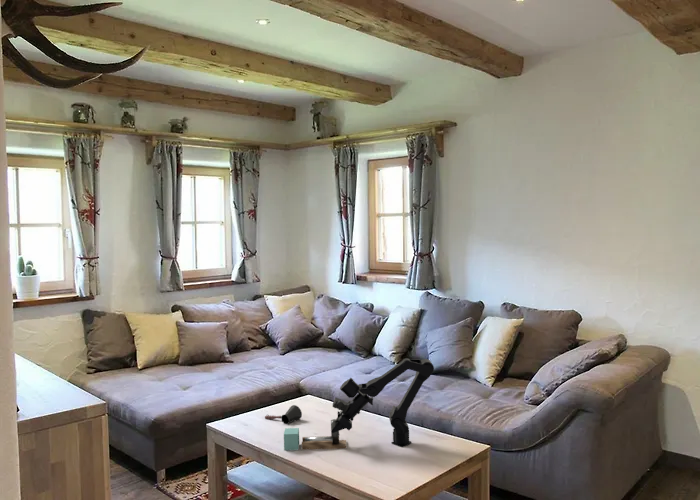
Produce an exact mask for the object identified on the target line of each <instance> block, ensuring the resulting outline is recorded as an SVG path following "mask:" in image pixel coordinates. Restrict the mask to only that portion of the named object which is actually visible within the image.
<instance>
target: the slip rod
mask: <svg viewBox="0 0 700 500" xmlns="http://www.w3.org/2000/svg"><path fill="white" fill-rule="evenodd" d="M337 422H338V420H337V418H334V419H333V418H332V419H331V420H330V431H331V430H332V429H333V427H334V426H335V425H336V423H337ZM304 437H305V441H332V444H339V440H340V431H337V432H335V433H332V432H330V436H329V437H322V436H304Z"/></svg>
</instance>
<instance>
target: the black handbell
mask: <svg viewBox="0 0 700 500" xmlns="http://www.w3.org/2000/svg"><path fill="white" fill-rule="evenodd" d="M302 415H303V413H302V409H301V408H300V407H299V406H298V405H295V404H293V405H291V406H289V408H288V410H287V411H286V412H285V413H284V414H282V415H269V413H268V414H266V415H265V416H264V419H265V420H274V419H281V422H282V423H283V424H285V425H289V424H290V423H292V422H295V421H297V420H298V421H299V420H300V419H301V418H302Z"/></svg>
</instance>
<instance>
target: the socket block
mask: <svg viewBox="0 0 700 500" xmlns="http://www.w3.org/2000/svg"><path fill="white" fill-rule="evenodd" d="M299 445H300V427H288V428H284V431H283V451H299Z"/></svg>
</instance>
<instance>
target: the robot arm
mask: <svg viewBox="0 0 700 500" xmlns="http://www.w3.org/2000/svg"><path fill="white" fill-rule="evenodd" d="M408 370H410V371H414V372H415V376H414V378H413V379H412V381H411V383H410V385H409V386H408V388H407V390H406V391H405V394H404V396H403V397H402V399H401V401H400V403H399V404H397V406H396V405H392V408H391V410H390V411H389V413H388V414H389V416H388V417H389V422H390V425H391V427H393V429H392V430H393V431H392V441H391V444H392V445H395V446H398V447H401V448H404V447H406V446H408V445H410V444H412V441H410V430H409V429H410V428H409V424H408V422H407V420H406V418H407V413H408V411H409V408H410V407H411V405H412V403H413V402H414V399H415V398H416V396H417V395H418V393H419V391H420V389H421V387H422V386H423V383H424V382H425V381H427V380H428V379H429V378H430V377H431V376H432V375H433V373H434V370H435V366H434V365H433V363H432V361H431V360H430V359H428V358H422V359H418V358H416V359H415V358H407V357H406V358H403V359H402V360H401V361H400V362H399V363H397V364H396V365H394V366H393V367H392V368H390V369H389V370H388V371H386V372H385V373H384V374H382V375H380V376H377V377H375V378H374V377H373V378H372V379H370V380H369V381H367V382H365V383H359V384H358V383H357V382H356V381H355V380H354V379H353V378H352V377H349V379H347V380H345V381H344V382H343V383H342V385H341V386H340V387H339V390H340V391H341V392H342V393H343V394H345V396H347V398H349V399H350V398H351V400H348V401H347V402H346V401H345V400H343V399H341V398H338V397H335V398H334V400H333V403H332V408H334V409H337V417H336V419H337V420H338V422H337V423H336V425H335V426H334V427H333V429H332V430H331V429H330V431H331V432H332V433H335V432H337V431H339V432H340V431H342V430H344V429H346V430H347V431H350V430H351V429H352V428H353V421H354V419H355V417H356V416H357V415H360V414H361V411H362V409H364V408H365V406H367V405H368V404H370V405H371V406H373V405H374V404H373V403H374V398H375V397H377V396H378V395H379V394H380V393H381V392H382V391H383V390H384V389H385V387H386V386H387V385H388V384H390V383H391V382H393V381H395V379H397V378H398V377H400V376H401V375H402V374H404V373H405V372H406V371H408ZM331 432H330V433H331Z"/></svg>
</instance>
